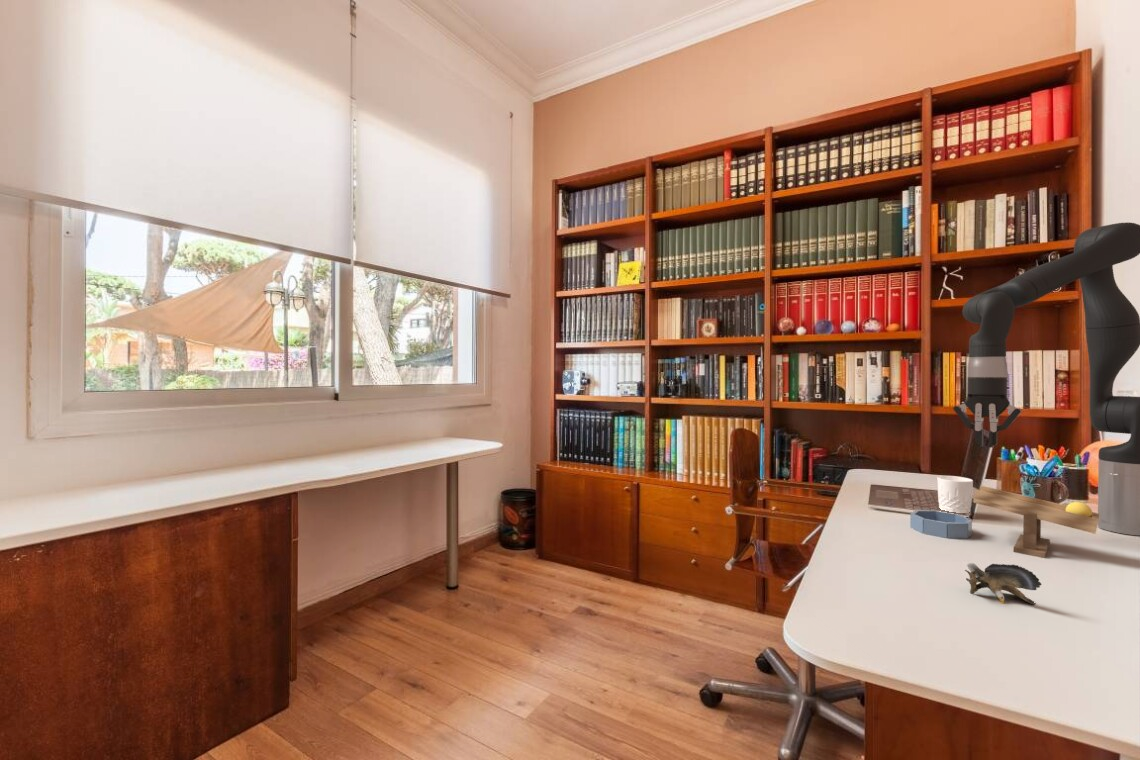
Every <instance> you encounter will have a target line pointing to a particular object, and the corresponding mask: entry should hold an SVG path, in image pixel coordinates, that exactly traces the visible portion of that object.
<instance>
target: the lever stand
mask: <svg viewBox="0 0 1140 760" xmlns="http://www.w3.org/2000/svg"><path fill="white" fill-rule="evenodd" d="M1022 518H1023V523H1022V524H1023V532H1022V533H1023V534H1020V535H1019V537H1018V538H1017V540H1016V542H1015V544H1014V546H1013V548H1012V550H1013V553H1018V554H1023V555H1028V556H1033V557H1039V558H1044V559H1045V558H1046V556H1047V554H1048V551H1049V550H1048V549H1049V547H1050V544H1051V539H1048V538H1044V537H1041V535H1042V534H1041V532H1042V529H1041V528H1042V520H1040V519H1037V514H1036V513H1031V512H1024V515H1023V517H1022Z"/></svg>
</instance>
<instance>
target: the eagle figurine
mask: <svg viewBox="0 0 1140 760" xmlns="http://www.w3.org/2000/svg"><path fill="white" fill-rule="evenodd" d="M966 566H967V568H968V570H967V569H965V570H964V571H965V572H966V573H967V574H968V576H969V578H965V580H966V581H967V582H968V583H969V584H970V590H969V593H970V594H971V595H972V594H975V593H976V592H978V591H979V590H980V589H985V588H987V589H989V591H991V592H992V593H993V594H994V595H995V596H996V597H997V598H998V600H999V601H1000V604H1004V603H1005V595H1004V594H1003V592H1002V591H1005V592H1008V593H1009V594H1012V595H1014V596H1016V597H1017V598H1018V597H1019V599H1022V600H1024V601H1025V602H1027V603H1029V604H1030V605H1037V603H1036V602H1035V601H1034V600H1032V599H1030V598H1029V597H1027V596H1026V595H1025V594H1024V593H1022V591H1021V590H1019V589H1023V590H1028V591H1037V589H1039V588H1040V586H1042V582H1040V579H1039V578H1038V577H1037V575H1036V574H1034V572H1033V571H1030V570H1029V569H1027V568H1025V567H1023V566H1020V565H1016V564H1003V563H1001V564H1000V563H999V564H998V563H992V564H989V565H988V566H986V567H985V568H984V570H982V569H981V568H980V567H978V566H977V564H975V563H973V562H968V563H966ZM1034 602H1035V603H1034Z"/></svg>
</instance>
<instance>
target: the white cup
mask: <svg viewBox="0 0 1140 760" xmlns="http://www.w3.org/2000/svg"><path fill="white" fill-rule="evenodd" d="M936 477H937V478H936V480H937V484H936V485H937V497H938V498H937V501H938V509H939V508H940V509H941V510H945V511H949V512H956V513H969V512H970V513H971V508H972V502H973V490H974V489H973V486H974V485H973V484H974V480H973V479H972V478H969V477H963V476H955V475H938V476H936Z"/></svg>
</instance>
